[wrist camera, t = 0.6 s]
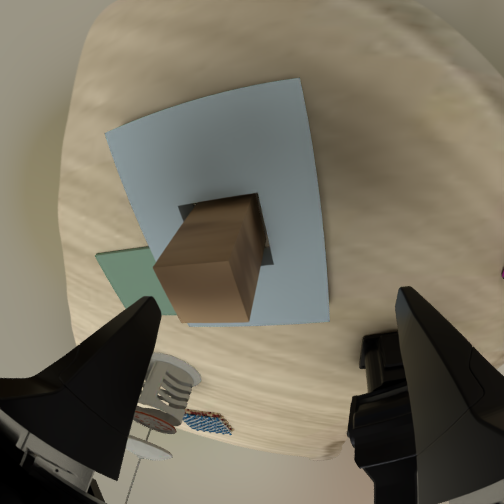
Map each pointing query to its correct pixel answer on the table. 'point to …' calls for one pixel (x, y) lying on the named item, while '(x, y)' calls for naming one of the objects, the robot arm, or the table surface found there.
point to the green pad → (134, 276)
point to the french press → (178, 387)
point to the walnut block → (214, 261)
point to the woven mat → (207, 421)
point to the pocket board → (236, 186)
